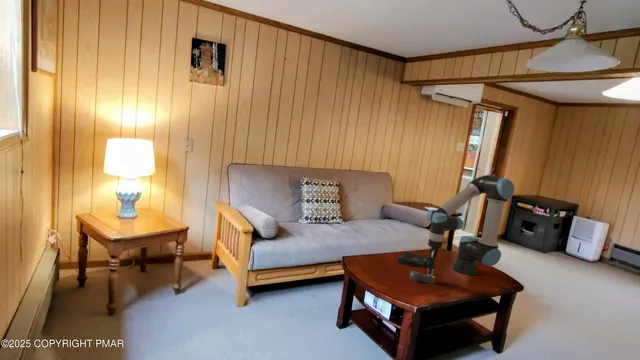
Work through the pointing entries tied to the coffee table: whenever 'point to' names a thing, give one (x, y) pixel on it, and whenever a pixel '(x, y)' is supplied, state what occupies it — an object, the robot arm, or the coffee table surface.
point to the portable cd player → (413, 260)
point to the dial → (421, 277)
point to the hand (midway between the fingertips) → (429, 278)
